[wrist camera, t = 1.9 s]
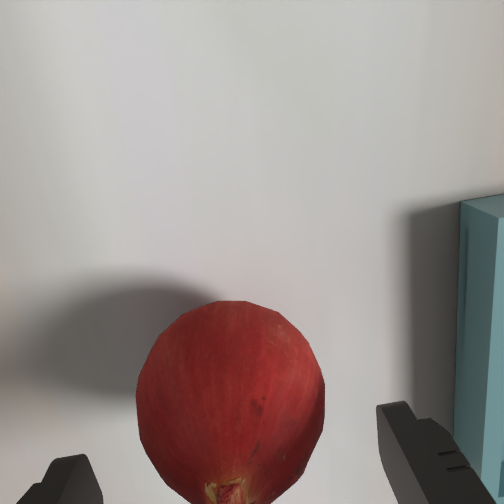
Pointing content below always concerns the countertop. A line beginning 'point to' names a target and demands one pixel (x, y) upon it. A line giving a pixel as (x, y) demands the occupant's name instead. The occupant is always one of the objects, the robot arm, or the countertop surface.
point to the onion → (230, 404)
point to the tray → (481, 341)
